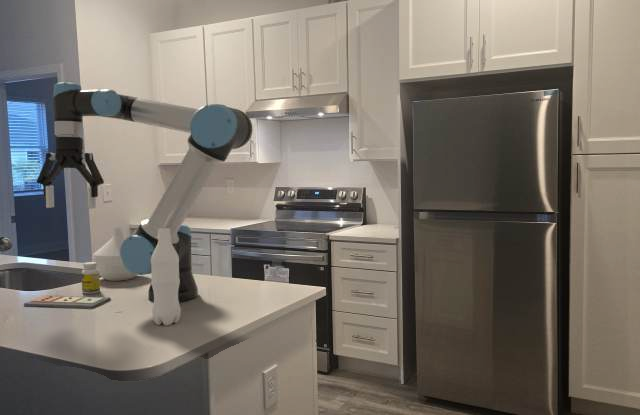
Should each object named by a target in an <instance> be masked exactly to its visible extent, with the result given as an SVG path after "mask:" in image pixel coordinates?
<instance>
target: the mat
mask: <svg viewBox="0 0 640 415" xmlns="http://www.w3.org/2000/svg"><path fill="white" fill-rule="evenodd" d="M111 300H112V299H111V297H110V296H107V297H106V296H105V297H104V296H79V295H78V296H74V295H72V296H71V295H43V296H41V297H37V298H35V299H33V300H30V301H26V302H25V303H23V306H24V307H36V306H53V307H52V308H65V307H70V308H73V309H94V308H97V307H99V306H101V305H102V304H105V303H107V302H110V301H111Z"/></svg>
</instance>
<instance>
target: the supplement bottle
mask: <svg viewBox="0 0 640 415" xmlns="http://www.w3.org/2000/svg"><path fill="white" fill-rule="evenodd" d="M96 267H97V263H96V262H93V261H89V262H88V261H87V262H86V261H85V262H83V269H82V270H81V289H82V291H81V292H82V294H86V295H89V294H90V295H92V294H93V295H94V294H97V293H99V292H100V291H101V284H100V283H101V280H100V275H99V270H98V269H96Z"/></svg>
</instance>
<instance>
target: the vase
mask: <svg viewBox="0 0 640 415" xmlns="http://www.w3.org/2000/svg"><path fill="white" fill-rule="evenodd" d="M126 238H127V237H125V236H124V232H123V226H114V227H113V236H112V237H111V238H110V240H108V241H106V242H105V243H104V245H102V246H101V247H100V248H99V249H97V250H96V251H95V252H94V253H93V254H92V260H91V262H96V263H97V267H96V269H98V270H99V277H102V279H104V280H106V281H109V282H119V281H127V280H131V279H133V278H135V277H136V276H138V275H137V274H134V273H132V272H130V271H129V270H128V269H127V268H126V267H125V266H124V264H123V262H122V258H121V257H120V248H121V244H122V243H123V241H124V240H125V239H126Z"/></svg>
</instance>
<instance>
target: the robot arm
mask: <svg viewBox="0 0 640 415" xmlns="http://www.w3.org/2000/svg"><path fill="white" fill-rule="evenodd" d="M52 99H53V110H54V111H53V112H54V113H53V114H54V120H53V121H54V135H55V138H54V148H55V150H56V152H55V153H54V152H46V153H45V161H44V163H43V165H42V167H41V170H40V173H39V175H38V178H37V179H36V183H37V184H40V185H42V187H43V196H44V197H45V207H46V209H49V208H51V209H52V208H55V189H54V187H55V186H54V185H53V182H54V181H55V180H56V178H57V177H58V176H59V174H60V173H61V172H62V171H63V170H64V169H76V170H77V171H78V172H79V174H80V175H81V176H82V177H83V179H84V180H85V181H86V182H87V183H88V184H89V186H87V206H88V207H87V208H88V209H89V210H93V209H96V208H97V207H96V205H97V202H96V201H97V200H96V198H98V195H99V192H98V191H99V189H98V187H99V186H101V185H104V183H105V181H104V178H103V177H102V175H101V172H100V170H99V169H98V167H97V165H96V162H95V160H94V154H93V153H92V152H85V153H83V149H84V141H83V140H84V139H83V137H81V136H83V117H102V118H109V119H110V118H111V119H115V120H116V119H118V120H123V121H128V122H133V123H138V124H139V123H140V124H144V125H148V126H154V127H158V128H164V129H167V130H174V131H178V132H184V133H188V134H189V136H188V138H187V144H188V150H187V152H186V154H185V156H184V157H183V159H182V161H181V162H180V163H179V166H178V168H177V169H176V171H175V173H174V175H173V177H172V178H171V180H170V182H169V184H168V185H167V187H166V189H165V191H164V192H163V194H162V195H161V198H160V199H159V201H158V203H157V205H156V206H155V208H154V211H153V212H152V214H151V216H150V217H149V218H147V219H144V220H142V221H141V222H140V224H139V226H138V227H137V229H136V231H135V233H134V234H131V235H129V236H128V237H125V238H126V239H125V240H124V241H123V243H122V244H121V248H120V257H121V258H122V262H123V264H124V266H125V267H126V268H127V269H128V270H129V271H130V272H132V273H134V274H137V275H136V276H144V275H152V268H151V257H152V255H153V252H154V250H155V248H156V246H157V244H158V238H157V237H158V229H163V228H169V229H170V234H171V235H170V236H171V243H172V245H173V247H174V249H175V250H176V252H177V254H178V257H179V279H180V284H179V289H178V301H179V303H180V302H185V301H190V300H192V299H193V300H194V299H195V298H197V297H198V296H199V290H198V285H197V283H196V279H195V276H194V275H193V272H192V270H193V269H192V267H193V266H192V233H191V227H190V226H188V225H185V224H184V225H183V223H184V222H185V220H186V218H187V216H188V214H189V213H190V211H191V209H192V207H193V206H194V204H195V202H196V200H197V198H198V197H199V195H200V193H201V192H202V190H203V189H204V186H205V185H206V183H207V182H208V180H209V178H210V176H211V175H212V173H213V171H214V170H215V168H216V167H217V166H216V165H218V164H220V163H224V162H225V161H226V160H227V159H228V156H229V155H230V153H231V152H232V150H236V149H240V148H242V147H244V146H245V145H247V144H248V142H249V141H250V140H251V138H252V135H253V131H254V130H253V124H252V120H251V118H250V117H249V116H248V114H246V112H244V111H242V110H240V109H237V108H233V107H229V106H226V105H224V104H220V103H219V104H218V103H210V104H206V105H203V106H202V107H199V108H194V107H188V106H183V105H177V104H172V103H166V102H160V101H157V100H152V99H151V100H150V99H145V98H138V97H134V96H131V95H124V94H119V93H117V92H116V91H115V90H114V89H104V88H101V89H87V90H86V89H83V90H82V86H81V85H80V84H79V83H74V82H58V83H57V82H56V83H55V84H54V86H53V95H52ZM55 160H56V162H55ZM83 160H84V161H85V164H86V165H87V167H86V165H85V164H84V162H83ZM54 163H55V164H54ZM147 293H148V294H147V295H148V296H147V297H148V300H149V301H152V302H154V292H153V288H152V285H151V284H150V286H149V287H148V292H147Z"/></svg>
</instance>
